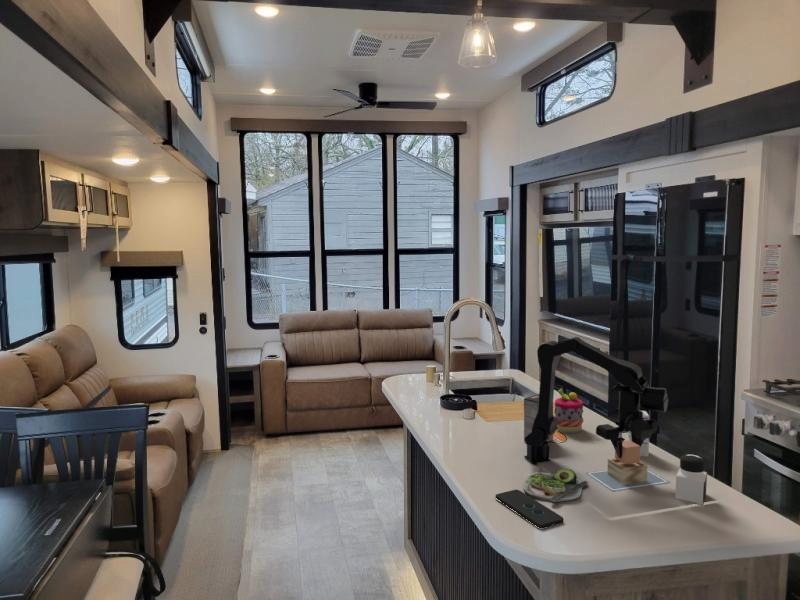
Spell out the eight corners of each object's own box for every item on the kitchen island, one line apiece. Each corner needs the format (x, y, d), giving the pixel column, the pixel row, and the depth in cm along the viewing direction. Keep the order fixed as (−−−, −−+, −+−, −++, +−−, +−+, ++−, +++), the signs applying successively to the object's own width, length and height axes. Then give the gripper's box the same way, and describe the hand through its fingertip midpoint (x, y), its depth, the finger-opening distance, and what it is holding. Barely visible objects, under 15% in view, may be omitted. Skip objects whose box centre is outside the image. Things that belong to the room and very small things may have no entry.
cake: (581, 425, 231) (581, 387, 230) (584, 434, 221) (585, 394, 219) (553, 423, 233) (553, 386, 232) (555, 433, 223) (555, 393, 221)
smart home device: (539, 524, 152) (494, 494, 170) (539, 531, 152) (493, 500, 170) (565, 517, 155) (517, 488, 173) (565, 524, 156) (517, 494, 173)
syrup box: (648, 458, 197) (650, 415, 196) (630, 457, 198) (631, 414, 197) (645, 452, 203) (647, 410, 201) (627, 451, 204) (628, 409, 202)
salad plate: (583, 512, 162) (583, 495, 161) (516, 501, 168) (516, 486, 168) (589, 483, 179) (589, 468, 179) (528, 475, 186) (529, 461, 186)
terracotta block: (625, 464, 177) (625, 447, 177) (614, 458, 182) (615, 442, 182) (639, 462, 179) (640, 446, 178) (629, 456, 183) (629, 440, 183)
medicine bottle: (703, 506, 163) (705, 463, 162) (674, 500, 167) (676, 458, 166) (706, 496, 169) (707, 455, 168) (678, 490, 173) (680, 450, 172)
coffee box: (538, 435, 220) (539, 393, 219) (553, 440, 216) (554, 396, 214) (523, 441, 214) (523, 398, 213) (538, 446, 210) (538, 401, 208)
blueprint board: (612, 493, 172) (612, 491, 172) (584, 474, 185) (584, 472, 185) (671, 484, 177) (671, 482, 177) (640, 466, 190) (640, 464, 190)
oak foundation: (623, 484, 176) (624, 469, 176) (607, 474, 184) (607, 459, 183) (647, 481, 178) (647, 465, 178) (629, 470, 186) (630, 456, 185)
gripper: (618, 417, 168) (616, 470, 170) (674, 411, 173) (672, 463, 175) (595, 406, 179) (594, 456, 181) (648, 400, 184) (647, 449, 186)
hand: (627, 456), depth 180 cm, fingers closed on terracotta block, 5 cm apart
